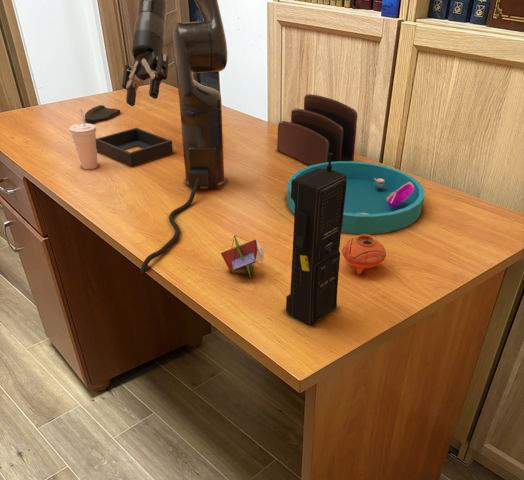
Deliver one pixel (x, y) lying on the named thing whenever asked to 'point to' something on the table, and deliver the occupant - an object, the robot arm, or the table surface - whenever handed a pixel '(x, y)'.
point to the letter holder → (319, 131)
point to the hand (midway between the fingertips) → (141, 100)
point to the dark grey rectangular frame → (131, 138)
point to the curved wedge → (100, 114)
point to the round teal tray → (373, 197)
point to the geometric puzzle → (243, 255)
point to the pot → (363, 252)
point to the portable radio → (316, 243)
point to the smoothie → (85, 142)
